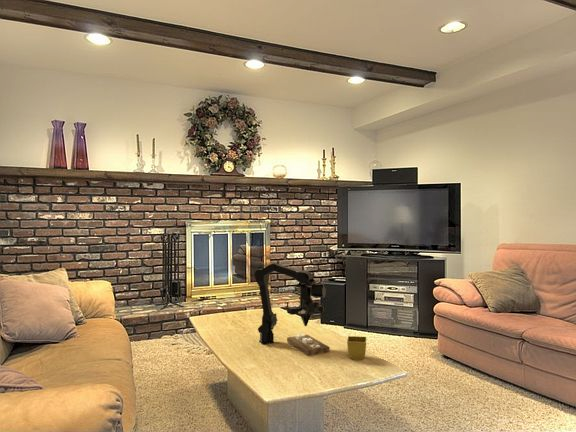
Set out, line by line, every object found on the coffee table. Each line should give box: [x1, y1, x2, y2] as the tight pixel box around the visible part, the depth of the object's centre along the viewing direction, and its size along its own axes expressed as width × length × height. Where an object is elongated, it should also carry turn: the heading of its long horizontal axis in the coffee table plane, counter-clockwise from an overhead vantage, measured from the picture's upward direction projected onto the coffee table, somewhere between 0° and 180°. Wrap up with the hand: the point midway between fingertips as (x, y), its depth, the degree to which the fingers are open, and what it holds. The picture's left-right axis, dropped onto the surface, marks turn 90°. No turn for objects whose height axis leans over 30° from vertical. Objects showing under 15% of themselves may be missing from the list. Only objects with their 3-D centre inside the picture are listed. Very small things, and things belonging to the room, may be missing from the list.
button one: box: [294, 333, 306, 340], centre depth 222 cm, size 4×4×3 cm
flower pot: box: [346, 335, 367, 361], centre depth 195 cm, size 9×9×9 cm
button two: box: [302, 338, 313, 344], centre depth 214 cm, size 4×4×3 cm
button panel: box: [286, 334, 330, 357], centre depth 214 cm, size 12×25×2 cm, turn 24°
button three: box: [310, 344, 320, 348], centre depth 207 cm, size 4×4×3 cm
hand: (305, 326), depth 215 cm, fingers closed
